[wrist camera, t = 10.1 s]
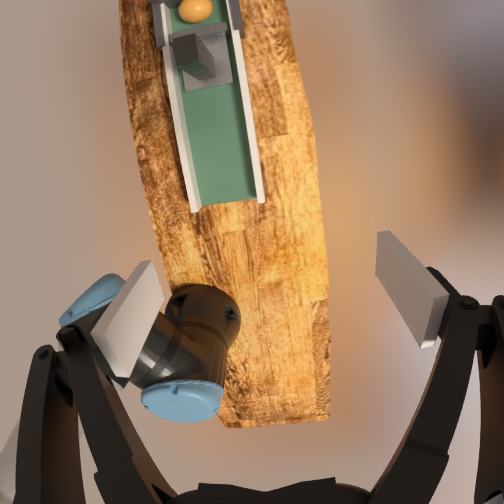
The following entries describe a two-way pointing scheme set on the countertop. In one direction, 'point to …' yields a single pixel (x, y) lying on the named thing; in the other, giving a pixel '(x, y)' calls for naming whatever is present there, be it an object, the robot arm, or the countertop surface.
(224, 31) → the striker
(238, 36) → the board
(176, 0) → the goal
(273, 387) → the countertop surface
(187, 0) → the ball
